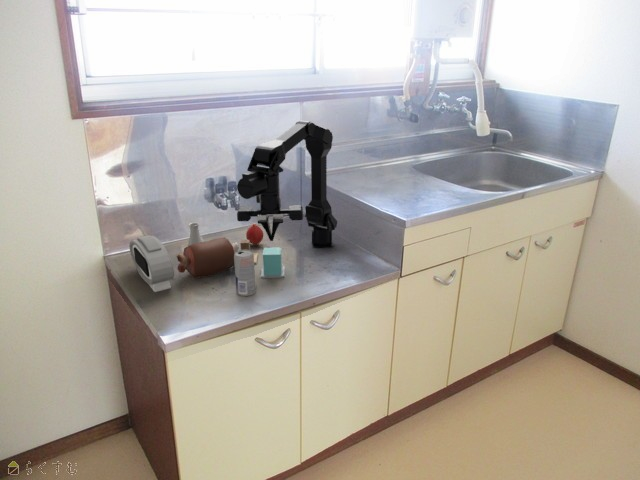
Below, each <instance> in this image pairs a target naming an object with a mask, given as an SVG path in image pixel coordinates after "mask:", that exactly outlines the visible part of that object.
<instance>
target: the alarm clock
mask: <svg viewBox="0 0 640 480" xmlns="http://www.w3.org/2000/svg"><path fill="white" fill-rule="evenodd" d="M129 253H130V256H131V259H132V262H133V264H134V266H135V269H136V270H137V272H138V274H139V275H140V277H141V278H142V279H143V281H144V282H145V283H147V285H149V287H150V288H151V290H152V291H153V292H154V293H158V292H161V291H165V290H169V289H171V280H174V278H175V269H174V264H173V262H172V259H171V256H170V254H169V253H168V251H167V249H166V247H165V246H164V244H163V243H162V242H161V240H160V239H159V238H157V237H156V236H154V235H153V236H152V235H143V236H140V237H137V238H136V239H132V240H130V241H129Z"/></svg>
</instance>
